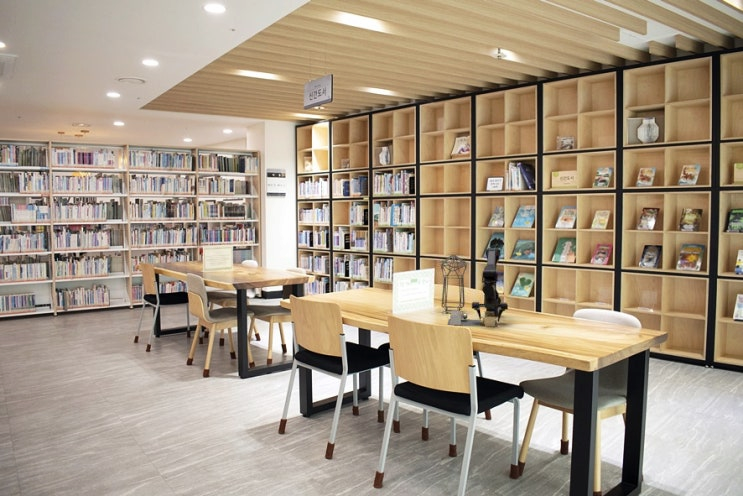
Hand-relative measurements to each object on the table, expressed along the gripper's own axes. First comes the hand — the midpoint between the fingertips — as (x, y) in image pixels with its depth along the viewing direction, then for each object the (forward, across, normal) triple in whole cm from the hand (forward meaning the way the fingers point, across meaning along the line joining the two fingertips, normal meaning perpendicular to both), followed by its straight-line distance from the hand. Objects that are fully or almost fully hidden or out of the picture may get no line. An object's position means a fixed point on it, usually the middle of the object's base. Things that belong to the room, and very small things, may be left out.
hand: (489, 321), depth 312 cm
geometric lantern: (+2, -20, +34) cm, 40 cm away
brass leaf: (+1, -1, 0) cm, 2 cm away
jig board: (+2, -9, 0) cm, 9 cm away
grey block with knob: (+1, -16, 0) cm, 16 cm away
